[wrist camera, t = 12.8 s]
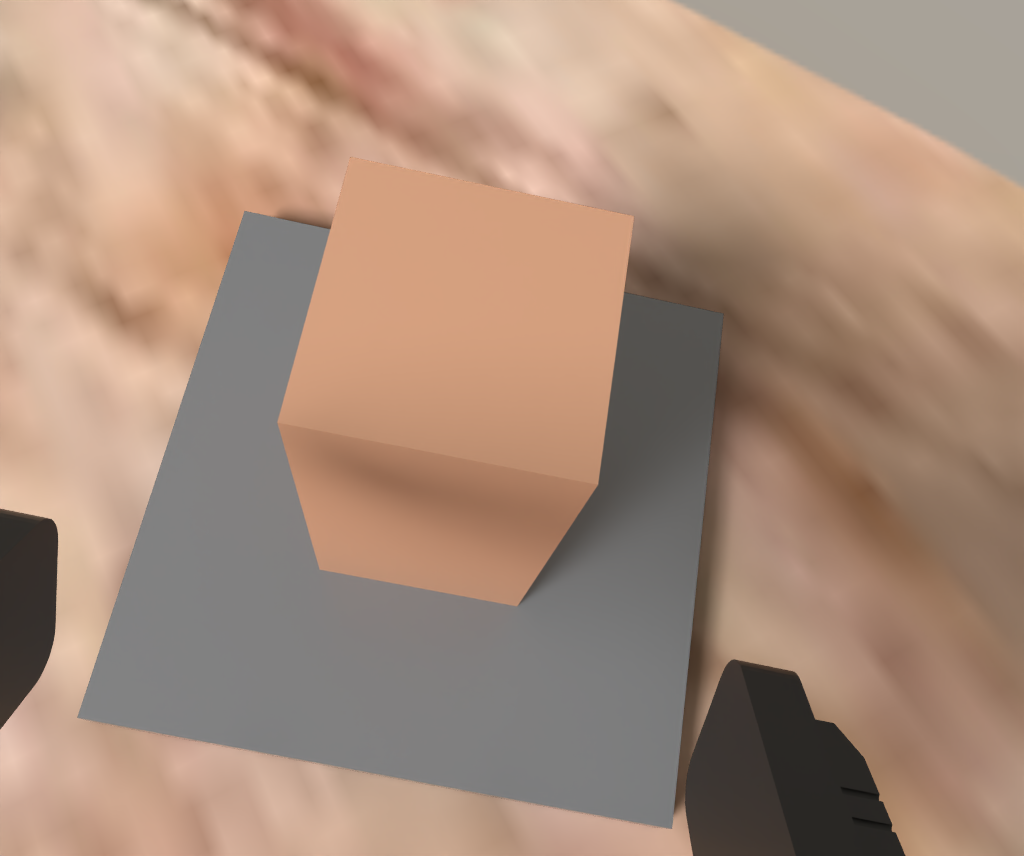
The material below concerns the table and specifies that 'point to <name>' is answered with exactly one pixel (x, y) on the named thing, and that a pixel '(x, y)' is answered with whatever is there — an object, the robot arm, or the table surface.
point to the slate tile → (409, 610)
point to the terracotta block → (453, 380)
